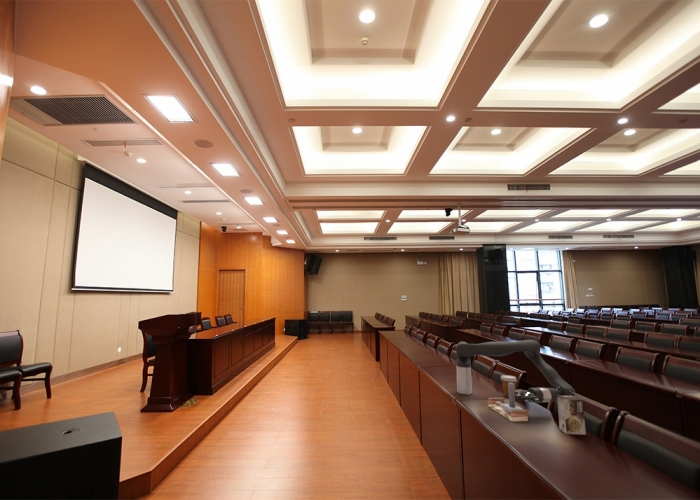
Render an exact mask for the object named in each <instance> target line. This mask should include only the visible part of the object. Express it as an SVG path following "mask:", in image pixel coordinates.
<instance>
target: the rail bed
mask: <svg viewBox="0 0 700 500" xmlns="http://www.w3.org/2000/svg"><path fill="white" fill-rule="evenodd" d="M487 399H488V404H487V405H488V406H487V407H488V408H489V407H490V408H489V409H492V410H493V411H494V410H495V412H496V413H498V414H499V415H500V416H502V415H503V417H504V418H506V419H507V418H508V419H507V420H509V421H510V422H528V421H529V417H528V415H529V414H528V410H527V409H523V410H510V413H509V412H507V411H506V410H505V409H504V408H503V407H502V404H505V401H504V397H487Z"/></svg>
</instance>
